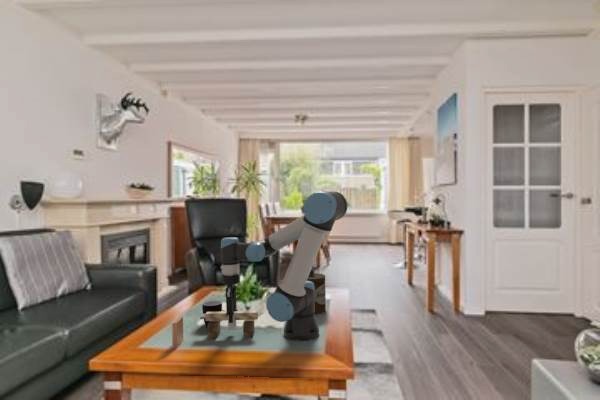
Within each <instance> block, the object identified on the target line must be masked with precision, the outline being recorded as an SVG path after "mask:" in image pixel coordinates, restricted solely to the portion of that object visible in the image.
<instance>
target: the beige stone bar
mask: <svg viewBox="0 0 600 400" xmlns="http://www.w3.org/2000/svg"><path fill="white" fill-rule="evenodd" d="M226 314H227V310H226V311H223V310H222V311H221V312H207V313H206V314H203V313H202V314H201V316H200V318H199V319H200V320H204V319H206V321H228V315H226ZM234 317H235V320H236V321H244V320H254V321H257V320H258V319H259V311H258V310H238V311H234Z"/></svg>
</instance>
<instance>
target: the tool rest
mask: <svg viewBox="0 0 600 400" xmlns="http://www.w3.org/2000/svg"><path fill="white" fill-rule="evenodd" d="M255 329H256V328H255V320H243V323H242V330H243V331H242V333H243V335H242V336H243V338H254V335H255V331H256V330H255ZM220 334H221V322H220V321H209V323H208V326H207V339H218V337H219V336H220Z"/></svg>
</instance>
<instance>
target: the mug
mask: <svg viewBox="0 0 600 400" xmlns="http://www.w3.org/2000/svg"><path fill="white" fill-rule="evenodd" d="M201 305H202V307H201V308H202V315H203V314H206V313H207V312H221V311H223V302H222V301H221V300H216V299H215V300H207V301H204V302H202V304H201ZM203 323H204V325H205V326H206V327H208V323H209V321H206V319H203ZM220 323H221V321H220Z"/></svg>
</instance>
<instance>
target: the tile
mask: <svg viewBox="0 0 600 400" xmlns="http://www.w3.org/2000/svg"><path fill="white" fill-rule="evenodd" d="M183 342H184V317H183V316H177V317H176V318H175V319H174V320H173V321H172V322H171V348H172V349H179V347H180V346H181V344H182V343H183Z"/></svg>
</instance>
